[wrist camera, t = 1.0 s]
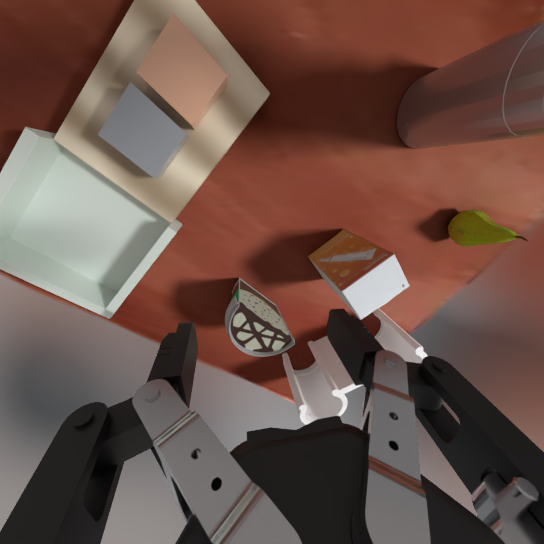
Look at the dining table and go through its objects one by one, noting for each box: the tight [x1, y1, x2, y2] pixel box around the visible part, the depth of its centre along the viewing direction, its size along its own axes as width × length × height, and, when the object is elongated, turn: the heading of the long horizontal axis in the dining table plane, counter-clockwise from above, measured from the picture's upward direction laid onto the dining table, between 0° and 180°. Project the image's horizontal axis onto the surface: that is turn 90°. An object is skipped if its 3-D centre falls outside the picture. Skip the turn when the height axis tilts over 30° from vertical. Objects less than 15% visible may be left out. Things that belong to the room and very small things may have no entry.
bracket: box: [282, 308, 427, 425], centre depth 45 cm, size 25×10×12 cm, turn 112°
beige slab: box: [54, 0, 270, 223], centre depth 26 cm, size 20×14×3 cm
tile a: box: [137, 13, 228, 130], centre depth 23 cm, size 6×6×3 cm
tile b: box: [98, 82, 189, 178], centre depth 24 cm, size 6×6×3 cm
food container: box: [225, 278, 295, 357], centre depth 37 cm, size 12×6×10 cm, turn 45°
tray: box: [0, 127, 182, 319], centre depth 29 cm, size 16×16×5 cm
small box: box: [308, 229, 409, 320], centre depth 35 cm, size 8×6×13 cm
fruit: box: [448, 210, 528, 247], centre depth 38 cm, size 6×6×12 cm
